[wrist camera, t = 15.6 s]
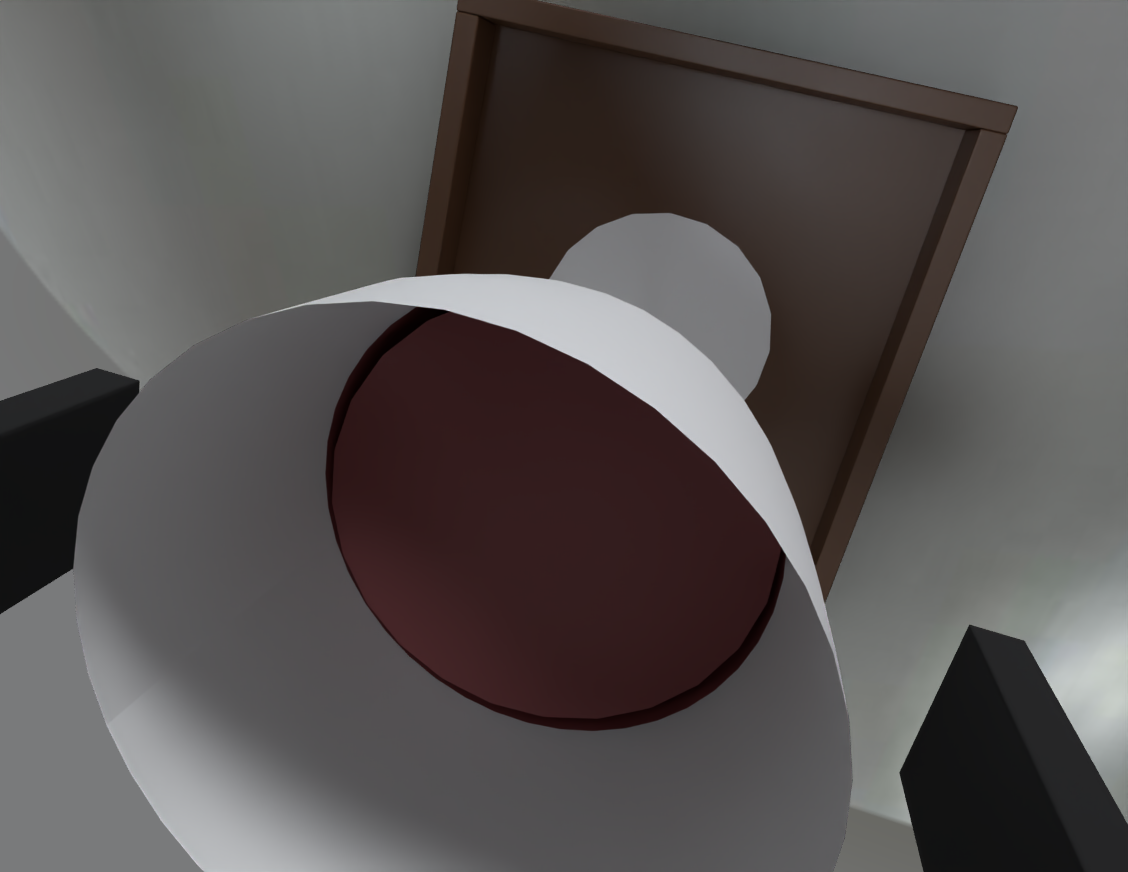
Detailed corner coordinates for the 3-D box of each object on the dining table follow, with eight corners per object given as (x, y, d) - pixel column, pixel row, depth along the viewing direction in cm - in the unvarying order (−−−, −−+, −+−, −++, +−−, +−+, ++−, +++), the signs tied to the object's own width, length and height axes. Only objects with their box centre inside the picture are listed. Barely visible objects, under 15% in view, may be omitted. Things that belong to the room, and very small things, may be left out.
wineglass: (703, 144, 29) (562, 115, 7) (825, 396, 30) (1000, 964, 9) (484, 269, 32) (-68, 508, 10) (608, 492, 33) (356, 1086, 12)
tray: (484, -3, 29) (460, -18, 27) (995, 110, 27) (1019, 106, 25) (402, 492, 36) (377, 516, 34) (803, 613, 34) (807, 648, 32)
